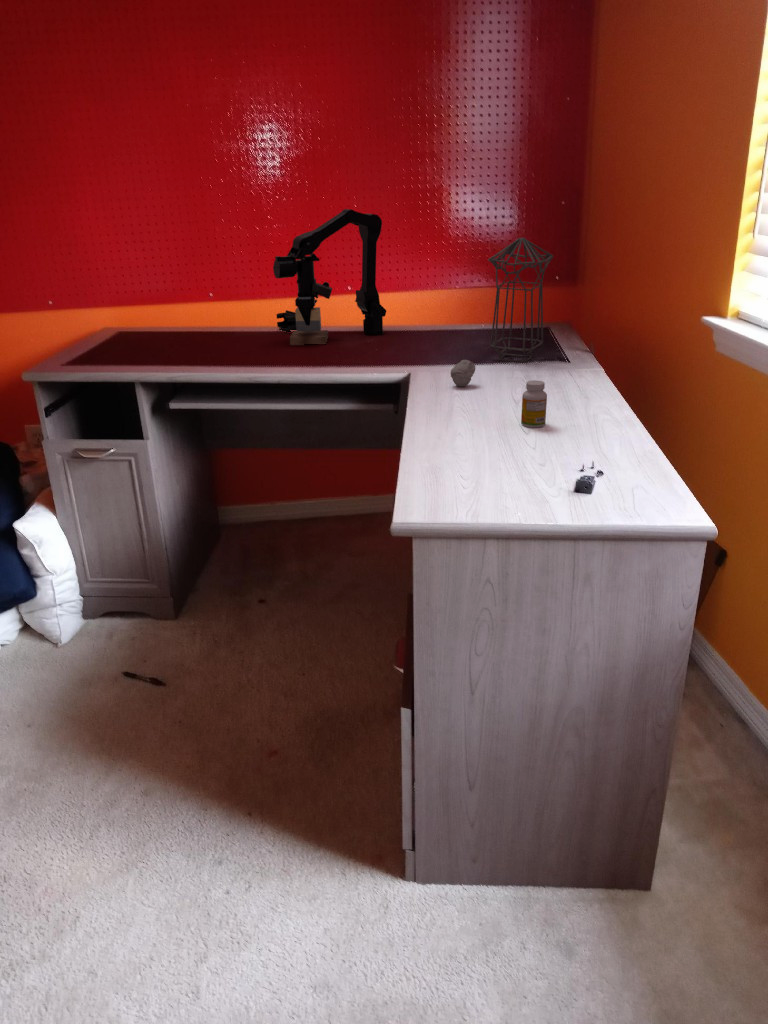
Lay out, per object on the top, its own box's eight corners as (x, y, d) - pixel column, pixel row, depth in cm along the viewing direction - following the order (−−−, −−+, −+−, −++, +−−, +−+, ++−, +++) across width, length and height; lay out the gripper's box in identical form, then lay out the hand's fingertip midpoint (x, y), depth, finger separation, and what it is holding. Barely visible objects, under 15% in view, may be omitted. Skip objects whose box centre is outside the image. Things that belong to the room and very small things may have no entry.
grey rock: (479, 386, 209) (480, 360, 206) (458, 390, 206) (458, 364, 203) (466, 382, 213) (467, 356, 211) (445, 385, 210) (445, 359, 208)
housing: (297, 328, 269) (296, 307, 266) (321, 328, 269) (320, 307, 266) (296, 331, 264) (295, 310, 262) (320, 330, 264) (319, 309, 262)
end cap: (307, 331, 285) (306, 312, 282) (289, 334, 281) (288, 315, 278) (294, 327, 292) (292, 309, 290) (277, 330, 289) (275, 311, 286)
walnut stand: (328, 337, 274) (327, 330, 273) (325, 344, 263) (325, 337, 262) (293, 338, 274) (293, 331, 273) (290, 345, 263) (289, 337, 262)
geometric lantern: (548, 356, 241) (556, 235, 226) (531, 368, 228) (539, 241, 213) (499, 351, 247) (504, 233, 232) (481, 362, 235) (485, 239, 220)
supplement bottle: (524, 420, 181) (526, 378, 177) (547, 422, 179) (550, 380, 175) (518, 427, 176) (520, 384, 172) (542, 429, 174) (545, 386, 170)
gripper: (328, 279, 251) (330, 328, 257) (331, 271, 268) (333, 318, 274) (293, 279, 251) (296, 329, 257) (299, 272, 268) (302, 319, 274)
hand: (308, 323), depth 266 cm, fingers closed on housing, 5 cm apart
